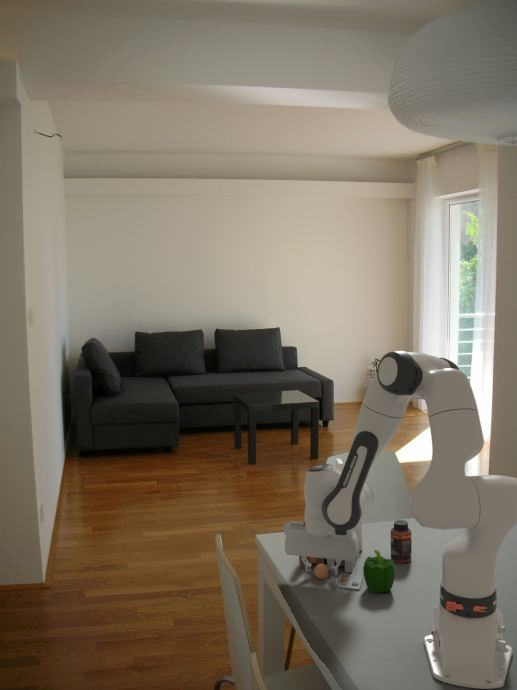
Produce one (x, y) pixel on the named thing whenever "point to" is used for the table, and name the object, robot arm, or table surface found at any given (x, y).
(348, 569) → the grey tube
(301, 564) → the walnut tube
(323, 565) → the loose ball
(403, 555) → the supplement bottle
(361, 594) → the table surface
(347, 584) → the card
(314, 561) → the tube ball terracotta
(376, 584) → the bell pepper
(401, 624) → the table surface
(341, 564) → the tube ball charcoal
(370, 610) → the table surface
